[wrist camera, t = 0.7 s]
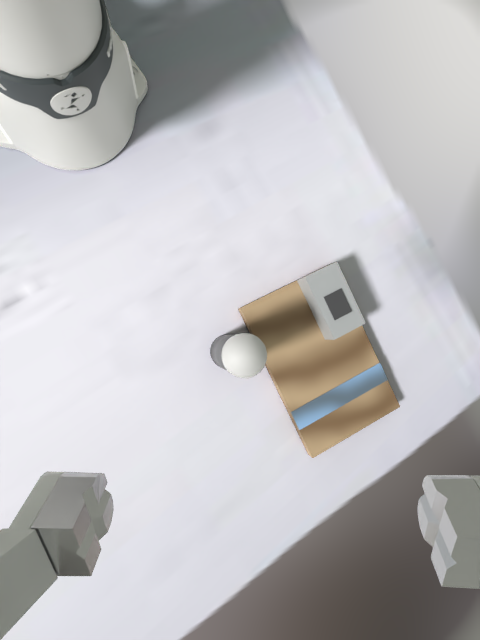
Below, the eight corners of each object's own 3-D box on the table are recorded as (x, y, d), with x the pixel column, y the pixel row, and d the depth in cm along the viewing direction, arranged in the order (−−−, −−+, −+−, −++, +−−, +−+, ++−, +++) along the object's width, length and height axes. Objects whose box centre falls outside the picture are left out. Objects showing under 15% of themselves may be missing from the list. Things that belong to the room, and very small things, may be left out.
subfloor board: (238, 308, 48) (240, 308, 47) (328, 265, 51) (333, 262, 49) (308, 454, 49) (313, 458, 48) (393, 404, 52) (400, 406, 50)
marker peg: (203, 343, 48) (215, 345, 37) (234, 328, 48) (255, 325, 37) (219, 375, 48) (235, 386, 37) (249, 359, 48) (274, 365, 38)
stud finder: (296, 280, 48) (305, 276, 46) (327, 265, 49) (337, 261, 46) (325, 339, 49) (335, 339, 46) (354, 323, 50) (366, 323, 47)
